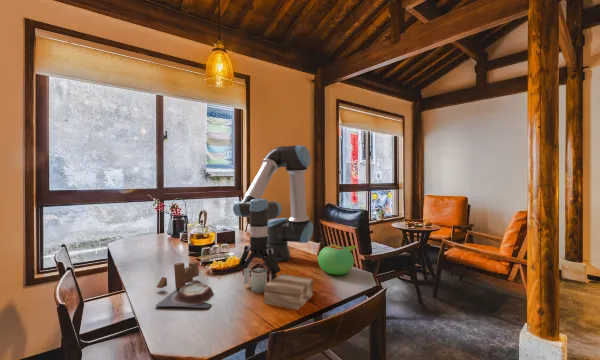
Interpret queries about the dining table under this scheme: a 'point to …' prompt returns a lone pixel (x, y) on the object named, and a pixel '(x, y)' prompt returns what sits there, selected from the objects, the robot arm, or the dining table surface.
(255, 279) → the celadon tea cup
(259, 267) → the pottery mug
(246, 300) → the dining table surface
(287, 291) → the beech tea box
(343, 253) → the round green toy
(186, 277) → the wooden block set
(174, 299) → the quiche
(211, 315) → the dining table surface
